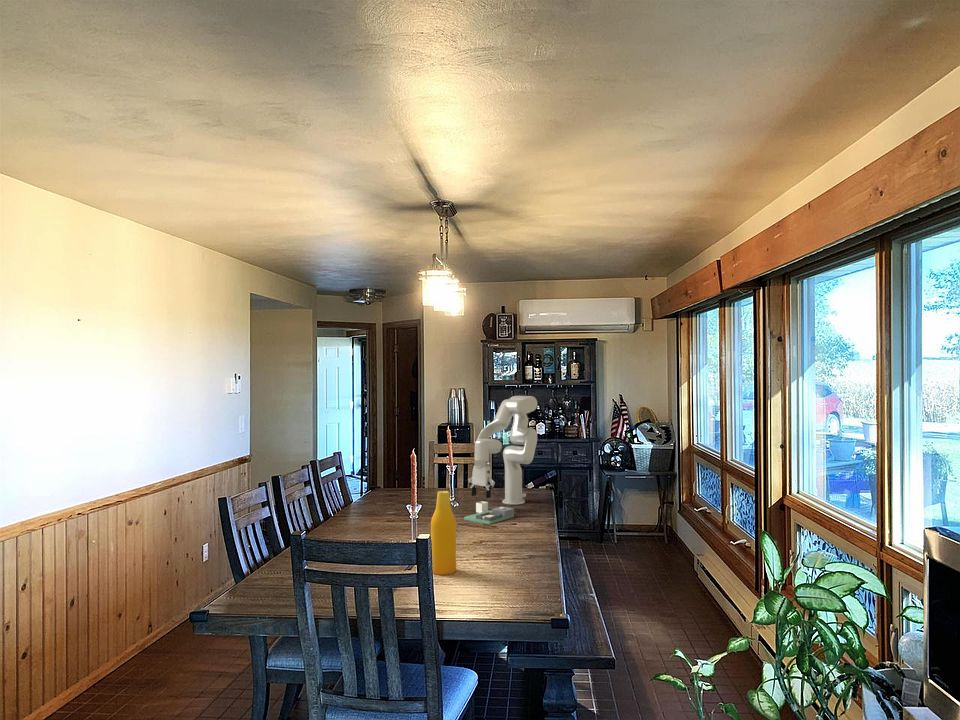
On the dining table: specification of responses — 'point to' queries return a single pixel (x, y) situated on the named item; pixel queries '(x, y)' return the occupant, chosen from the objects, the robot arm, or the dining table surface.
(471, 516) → the board
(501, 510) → the fan
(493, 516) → the header
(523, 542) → the dining table surface
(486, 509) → the plug
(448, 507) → the beer bottle
